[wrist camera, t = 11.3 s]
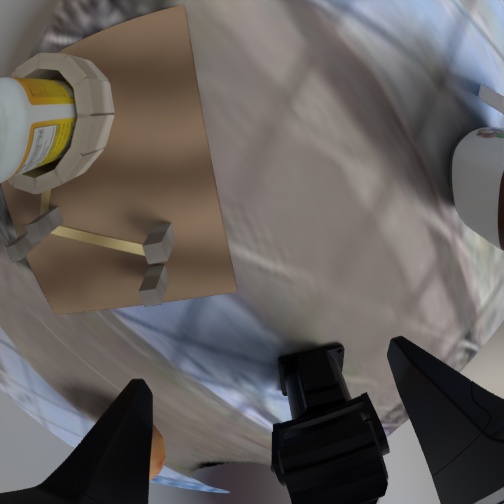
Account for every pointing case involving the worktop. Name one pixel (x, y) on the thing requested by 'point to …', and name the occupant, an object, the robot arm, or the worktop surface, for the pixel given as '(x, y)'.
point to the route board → (124, 177)
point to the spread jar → (480, 176)
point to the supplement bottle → (34, 123)
